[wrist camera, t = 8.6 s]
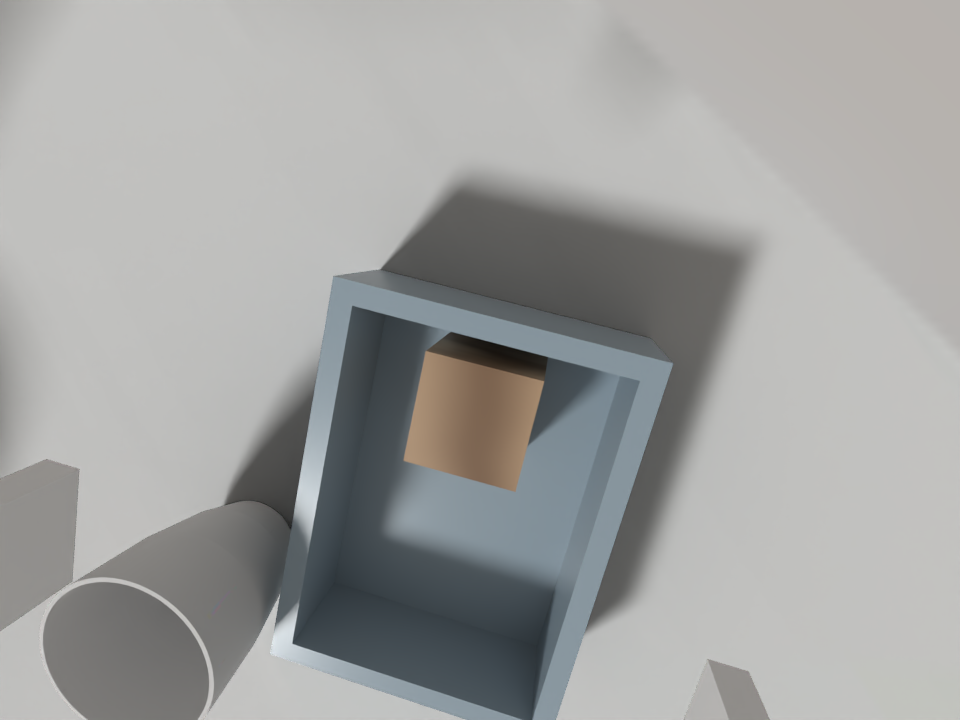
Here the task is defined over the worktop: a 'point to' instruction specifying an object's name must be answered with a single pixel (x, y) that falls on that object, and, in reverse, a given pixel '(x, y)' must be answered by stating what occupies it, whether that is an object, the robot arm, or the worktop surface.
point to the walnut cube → (475, 409)
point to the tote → (458, 506)
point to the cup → (167, 617)
